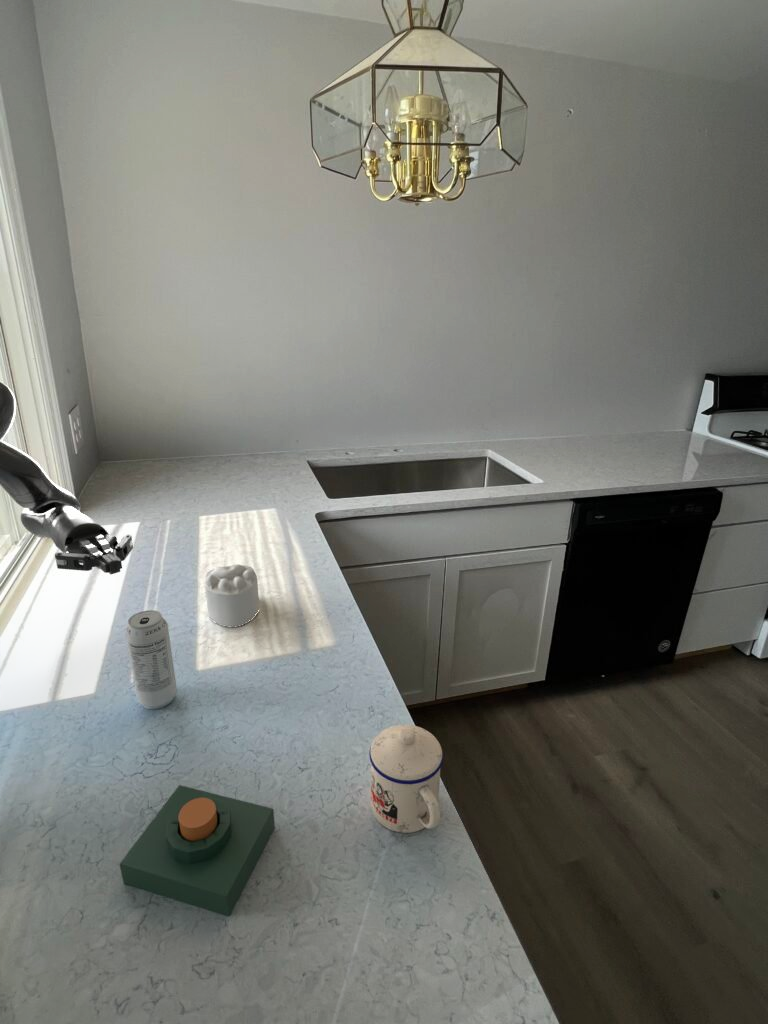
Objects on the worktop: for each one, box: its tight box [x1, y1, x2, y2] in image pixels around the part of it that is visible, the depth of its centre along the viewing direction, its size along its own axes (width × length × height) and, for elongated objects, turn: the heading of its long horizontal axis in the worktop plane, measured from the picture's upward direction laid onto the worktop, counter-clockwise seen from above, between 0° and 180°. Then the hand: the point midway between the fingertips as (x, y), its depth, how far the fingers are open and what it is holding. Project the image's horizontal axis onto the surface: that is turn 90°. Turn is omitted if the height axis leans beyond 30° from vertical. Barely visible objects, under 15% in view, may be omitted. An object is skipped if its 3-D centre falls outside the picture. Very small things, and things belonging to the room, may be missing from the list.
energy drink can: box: [124, 610, 178, 710], centre depth 87 cm, size 6×6×15 cm
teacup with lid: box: [368, 724, 444, 834], centre depth 68 cm, size 12×9×12 cm
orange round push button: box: [179, 798, 217, 841], centre depth 63 cm, size 4×4×2 cm
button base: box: [119, 784, 276, 918], centre depth 64 cm, size 13×11×5 cm
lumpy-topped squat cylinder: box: [203, 563, 260, 628], centre depth 114 cm, size 10×13×9 cm
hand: (115, 567), depth 89 cm, fingers closed
